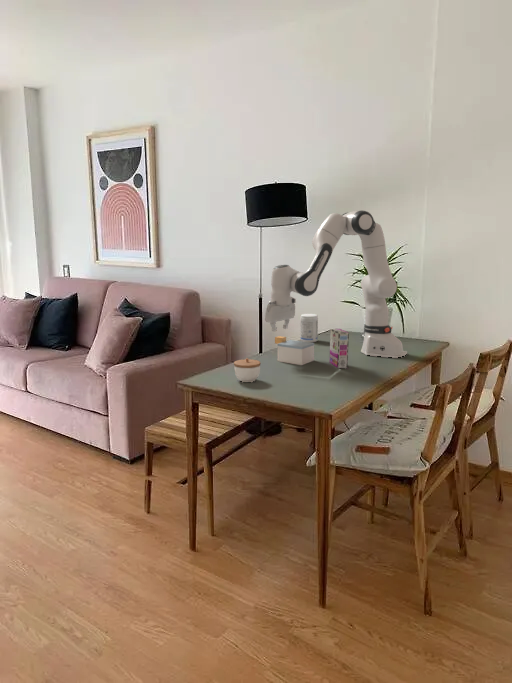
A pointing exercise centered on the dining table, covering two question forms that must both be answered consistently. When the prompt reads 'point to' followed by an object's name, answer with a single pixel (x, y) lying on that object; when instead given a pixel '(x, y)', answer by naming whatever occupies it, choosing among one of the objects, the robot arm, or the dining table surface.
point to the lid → (292, 343)
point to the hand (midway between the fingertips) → (279, 329)
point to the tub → (295, 355)
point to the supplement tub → (309, 328)
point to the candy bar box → (339, 348)
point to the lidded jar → (247, 369)
